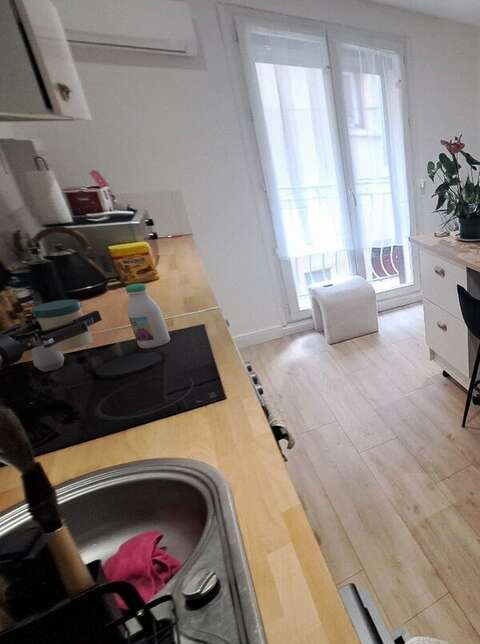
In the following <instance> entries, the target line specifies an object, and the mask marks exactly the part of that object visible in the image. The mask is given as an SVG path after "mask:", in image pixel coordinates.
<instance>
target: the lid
mask: <svg viewBox="0 0 480 644" xmlns="http://www.w3.org/2000/svg"><path fill="white" fill-rule="evenodd" d="M80 309H81V310H82V309H83V305H82V303H81V302H80V300H79V299H72V298H71V299H60V300H54V301H50V302H44V303H41V304H38V305H35V306H32V308H30V310H31V314H32V316H33V317H34V318H36V317H38V318H45V317H54V316H60V315H65V314H69V313H72V312H75V311H78V310H80Z"/></svg>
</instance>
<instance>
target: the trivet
mask: <svg viewBox="0 0 480 644" xmlns="http://www.w3.org/2000/svg"><path fill="white" fill-rule="evenodd" d="M162 361H163V357H162V354H161V353H159V352H155V351H143V352H136V353H131V354H127V355H124V356H120V357H117V358H114V359H111V360H108V361H106V362H104V363H102V364H100V366H98V367H97V368H96V369H95V371H94V372H95V375H96V377H97V378H100V379H107V380H108V379H109V380H110V379H119V378H125V377H129V376H133V375H136V374H140V373H144V372H145V371H149V370H150V369H153V368H154V367H157V366H158V365H159V364H160V363H161V362H162Z"/></svg>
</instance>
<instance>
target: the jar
mask: <svg viewBox="0 0 480 644" xmlns="http://www.w3.org/2000/svg"><path fill="white" fill-rule="evenodd" d="M84 315H85V314H84V313H83V310H82V308H81V309H80V310H78V311H75V312H72V313H69V314H65V315H60V316H54V317H45V318H38V317H35V318H36V321H37V320H38V322H39V324H40V327H41V329H42V331H43V330H46V329H50V328H53V327H57V326H60V325H64V324H67V323H70V322H73V320H74V319H77V318H79V317H81V316H84ZM89 327H90V326H88V330H89V331H87V332H84V333H82V334H79V335H77V336H74V337H72V338H69V339H66V340H64V341H61V342H59V343H56V344H55V345H53V346H51V347H50V349H51V350H52V351H60V352H65V351H70V350H76V349H79V348H82V347H85V346H87V345H90V344H91V343H93V342H94V338H93V335H92V332H91V330H90V328H89Z"/></svg>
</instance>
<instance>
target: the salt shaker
mask: <svg viewBox="0 0 480 644" xmlns="http://www.w3.org/2000/svg"><path fill="white" fill-rule="evenodd" d="M37 330H38V329H37ZM35 335H36V336H37V334H35ZM37 337H38V336H37ZM38 340H39V338H38ZM30 351H31V358H32V363H33V366H34V367H35V368H37V369H38V370H39V371H41V372H51V371H56V370H59V369H60V368H62V367H64V364H65V363H64V362H65V356H64V354H62V351H52V350H51V349H50V347H49V348H45V347H44V345H41V346H38V347H35V348H33V349H32V350H30Z"/></svg>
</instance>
